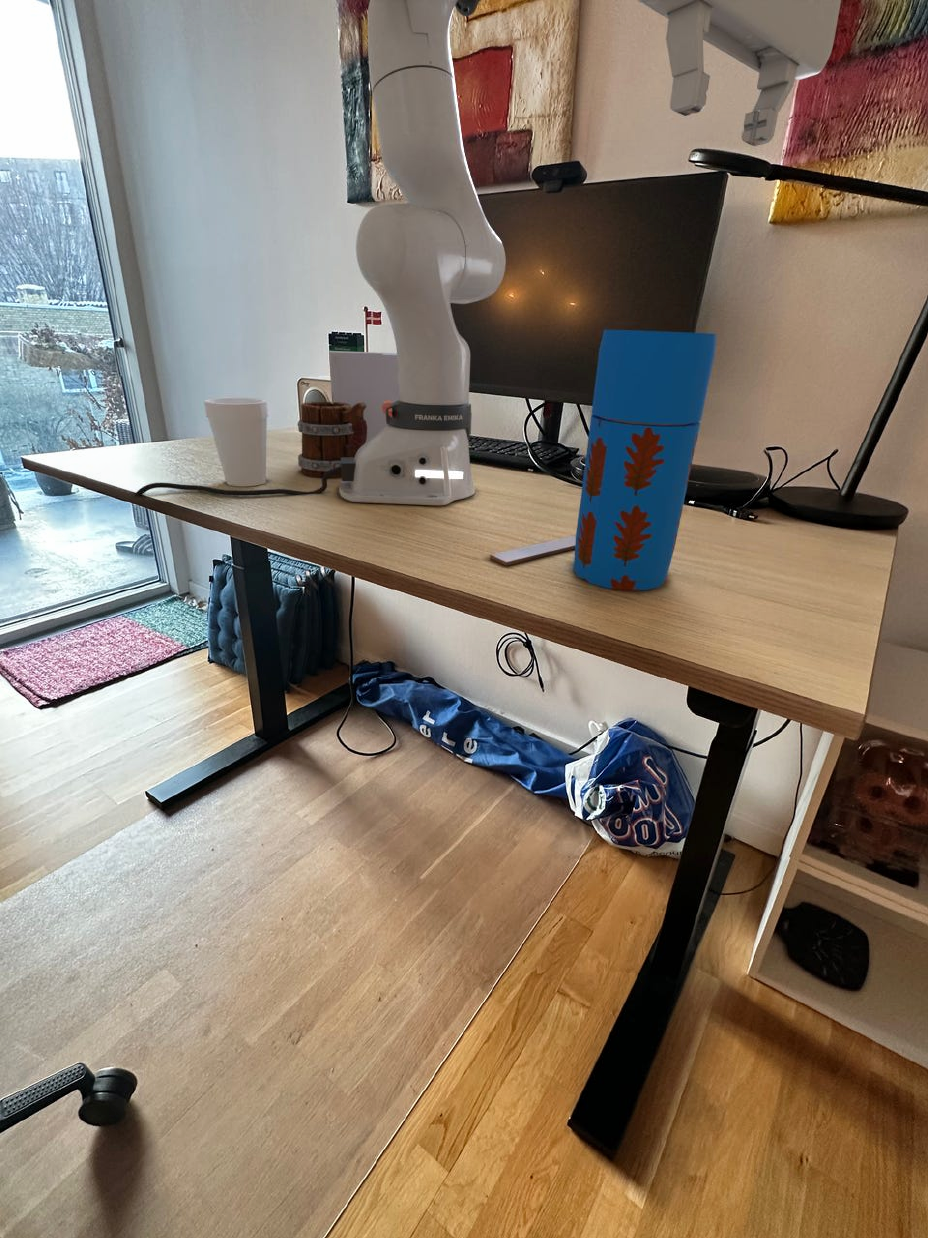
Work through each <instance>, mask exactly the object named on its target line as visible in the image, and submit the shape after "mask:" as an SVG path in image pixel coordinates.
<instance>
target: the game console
mask: <svg viewBox="0 0 928 1238" xmlns="http://www.w3.org/2000/svg"><path fill="white" fill-rule="evenodd" d="M328 363H329V377H330V380H329V381H330V395H331V397H330V398H331V403H332V404H333V402H341V403H347V404H350V405H351V407H353V406H354V405H356V404H357V403H365V405H366V408H365V410H364V411H363V415H364V420H366V424H367V428H368V429H367V439H366V442H367V441H369V440H370V439H371V438H372V437H374V436H375V435H376V434H377V433H379V432H380V431H381V430H382V429H383V428H385V427H386V426H387V425H388V424H387V423H386V414H385V413H384V412H383V410H382V407H383V406H382V404H384V402H385V401H390V402H392V403H394V402H395V401H397V400H399V389H398V362H397V352H375V351H373V352H371V351H370V352H369V351H343V350H342V351H340V350H339V351H337V350H328Z"/></svg>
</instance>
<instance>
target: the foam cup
mask: <svg viewBox="0 0 928 1238" xmlns="http://www.w3.org/2000/svg"><path fill="white" fill-rule="evenodd" d="M203 403H204V410H205V416H206V418H207V419H208V422H209V427H210V429H211V434H212V437H213V440H214V444H215V447H216V451H217V454H218V458H219V461H220V465H221V468H222V471H223V475H224V478H225V479H224V480H225V481H226V484H227V485H228V486H233V487H255V486H260V485H263V484H265V483H266V479H267V435H268V433H267V431H268V430H267V429H268V427H267V425H268V423H267V422H268V421H267V420H268V417H269V414H268V404H267V399H262V398H256V397H255V398H254V397H215V398H208V399H204V401H203Z"/></svg>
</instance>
